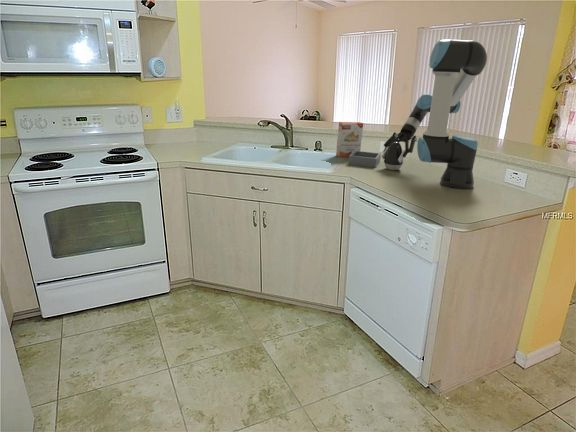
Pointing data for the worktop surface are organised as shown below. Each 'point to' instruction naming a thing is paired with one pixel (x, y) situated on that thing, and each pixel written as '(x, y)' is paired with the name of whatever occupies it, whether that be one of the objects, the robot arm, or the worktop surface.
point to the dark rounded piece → (393, 156)
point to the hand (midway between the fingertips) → (390, 159)
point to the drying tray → (364, 158)
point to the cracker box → (349, 138)
